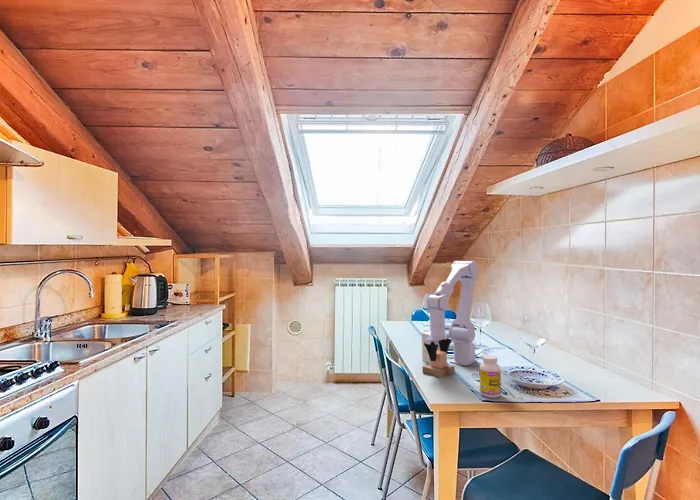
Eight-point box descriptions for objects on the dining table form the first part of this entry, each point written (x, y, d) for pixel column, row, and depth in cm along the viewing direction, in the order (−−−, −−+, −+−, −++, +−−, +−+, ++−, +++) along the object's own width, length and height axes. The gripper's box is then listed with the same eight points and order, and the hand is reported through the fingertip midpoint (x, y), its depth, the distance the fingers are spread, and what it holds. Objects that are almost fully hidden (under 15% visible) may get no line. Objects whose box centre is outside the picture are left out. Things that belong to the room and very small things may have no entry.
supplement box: (445, 362, 168) (445, 333, 168) (431, 364, 165) (430, 335, 165) (435, 358, 175) (435, 330, 175) (421, 360, 172) (421, 332, 172)
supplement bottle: (488, 399, 127) (487, 360, 127) (476, 392, 133) (475, 355, 133) (505, 397, 129) (504, 358, 129) (493, 390, 135) (492, 353, 135)
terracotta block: (437, 363, 159) (436, 350, 159) (446, 365, 155) (446, 352, 155) (431, 366, 156) (430, 352, 155) (440, 368, 152) (440, 354, 152)
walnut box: (435, 368, 162) (435, 361, 162) (454, 373, 155) (454, 365, 155) (422, 373, 156) (422, 366, 156) (442, 379, 149) (441, 371, 149)
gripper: (435, 329, 147) (436, 364, 147) (456, 323, 157) (456, 356, 157) (420, 326, 153) (421, 361, 153) (441, 321, 162) (442, 353, 163)
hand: (438, 358), depth 155 cm, fingers open, 7 cm apart
